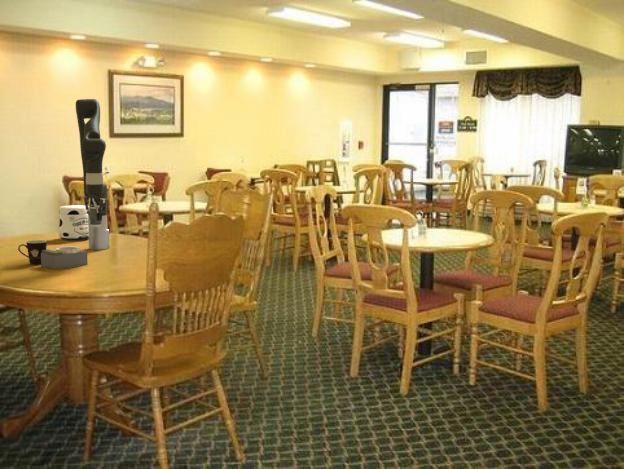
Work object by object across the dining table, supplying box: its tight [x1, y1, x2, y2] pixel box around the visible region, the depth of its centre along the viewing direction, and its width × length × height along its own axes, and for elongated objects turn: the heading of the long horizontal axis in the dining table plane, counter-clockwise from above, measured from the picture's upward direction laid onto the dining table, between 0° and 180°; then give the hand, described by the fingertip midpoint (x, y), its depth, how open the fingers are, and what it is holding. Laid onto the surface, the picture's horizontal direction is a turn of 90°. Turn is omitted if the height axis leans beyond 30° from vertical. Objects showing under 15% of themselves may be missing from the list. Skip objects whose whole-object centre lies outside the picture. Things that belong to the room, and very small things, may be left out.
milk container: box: [57, 204, 89, 241], centre depth 389 cm, size 17×17×18 cm
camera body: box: [40, 246, 88, 270], centre depth 315 cm, size 16×11×8 cm
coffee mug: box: [17, 239, 48, 266], centre depth 319 cm, size 12×9×10 cm
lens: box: [88, 206, 101, 227], centre depth 325 cm, size 5×5×9 cm
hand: (95, 220), depth 325 cm, fingers closed on lens, 5 cm apart
